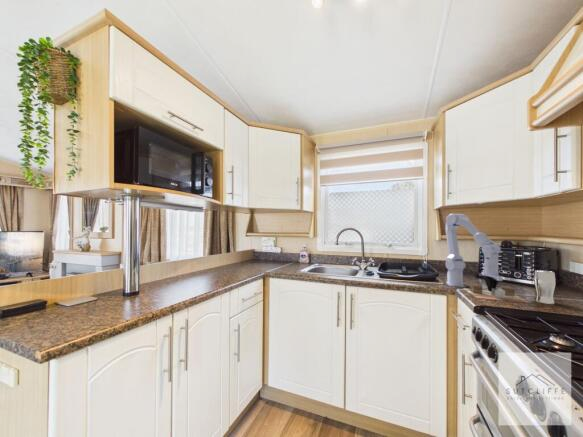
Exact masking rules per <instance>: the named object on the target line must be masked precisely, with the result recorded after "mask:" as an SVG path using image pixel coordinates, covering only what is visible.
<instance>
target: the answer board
mask: <svg viewBox="0 0 583 437" xmlns="http://www.w3.org/2000/svg"><path fill="white" fill-rule="evenodd" d="M462 290H464V291H465V292H467V293H469V294H470V295H471V296H473V297H474V298H477V299H487V300H498V301H499V300H500V301H510V302H518V303H519V302H520V303H521V302H522V303H530V301H529V300H527V299H525V298H523V297H520V296H518V295H517V294H515V296H505V299H499V298H494V297H493V296H492V292H490V291H488V289H483V288H482V294H480V293H473V292H471V291H470V288H467V287H462Z"/></svg>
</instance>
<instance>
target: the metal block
mask: <svg viewBox="0 0 583 437" xmlns="http://www.w3.org/2000/svg"><path fill="white" fill-rule="evenodd" d="M492 296H493V297H494V298H499V299H505V291H504V290H502V289H501V288H492Z"/></svg>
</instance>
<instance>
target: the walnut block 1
mask: <svg viewBox="0 0 583 437" xmlns="http://www.w3.org/2000/svg"><path fill="white" fill-rule="evenodd" d="M469 287H470V291H471V292H473V293H480V294H482V289H483V285H481V284H478V283H470V286H469Z"/></svg>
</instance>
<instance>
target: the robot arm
mask: <svg viewBox="0 0 583 437" xmlns="http://www.w3.org/2000/svg"><path fill="white" fill-rule="evenodd" d="M445 222H446V223H445V226H444V230H445V236H446V244H447V250H448V256H447V257H446V258H445V268H446V269H447V274H446V280H447V281H445V283H446V284H447V285H448V286H450V287H451V286H452V287H459V288H460V287H461V288H466V286H465V285H464V284H463V281H464V280H463V279H464V278H463V273H464V272H463V271H464V270H465V268H466V266H467V265H466V263H465V261H464V258H463V256H462V255H461V254H460V248H459V242H458V241H459V240H458V235H457V229H458V228H459V227H463V228H465V230H467V231H468V232H469V233H470V234H471V235H472V236H473V240H474V241H475V242H476V244H477V245H479V247H480V248H481V251H482V253H483V257H484V258H483V259H484V271H481V276H485V277H483V278H482V279H483V280H484V282H485V283H486V286H487V290H488V291H490V292H492V288H496V287H497V285H498V284H499V283H500V282H503V277H502V276H501V275H499V254H500V253H501V250H502V248H501V246H500V245H499V244H498V243H495V242H494V241H493V240H491V239H490V238H489V237H488V234H487V233H484V232H481V231H479V230H478V229H477V227H476V226H475V225H474V224H473V222H471V220H470V218H469V217H468V216H467V215H466V214H464V213H450V214H449V213H448V215H447V216H446V217H445ZM496 289H497V288H496Z"/></svg>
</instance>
